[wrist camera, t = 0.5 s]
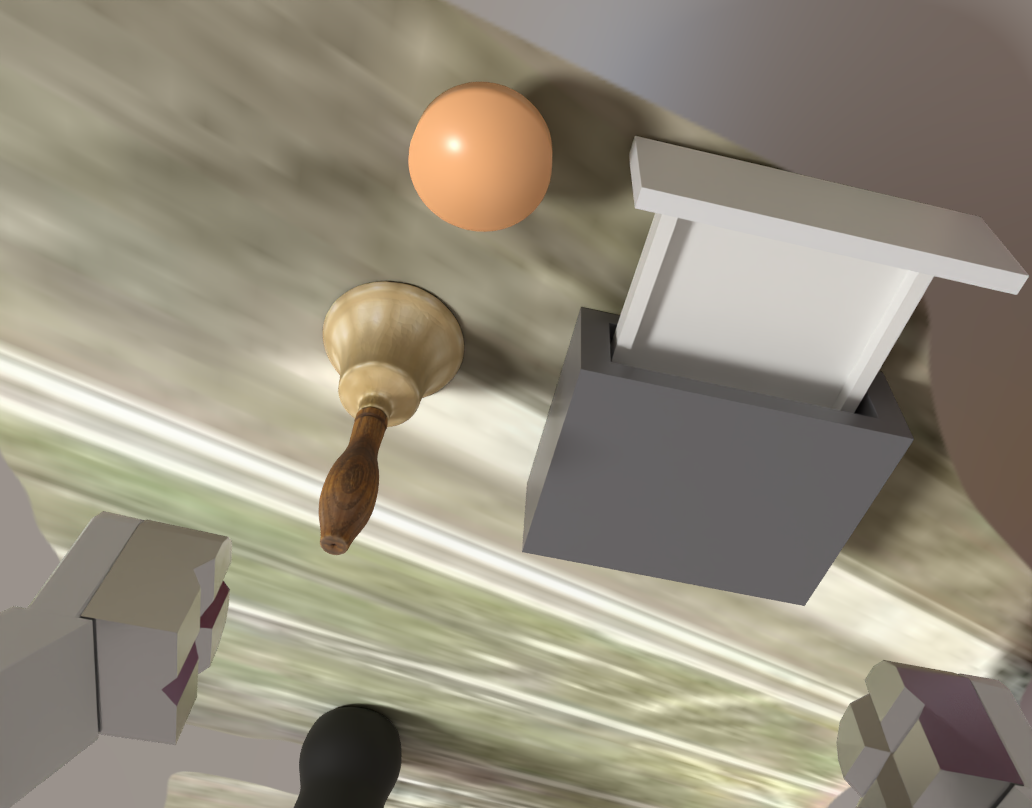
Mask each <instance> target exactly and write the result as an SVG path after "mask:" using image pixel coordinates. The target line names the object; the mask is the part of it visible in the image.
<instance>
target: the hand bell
mask: <svg viewBox="0 0 1032 808" xmlns="http://www.w3.org/2000/svg"><path fill="white" fill-rule="evenodd" d="M323 342H324V347H325V351H326V353H327V356H328V358H329V360H330V362H331V363H332V365H333V367H334V368H335V370H336V371H337V372H338V373H339V375H340V381H339V388H338V392H339V397H340V400H341V403H342V405H343V406H344V408H345V409H346V410H347V412H348V413H349V414H350V415H351V416H352V417H354V418H355V423H354V426H353V430H352V434H351V438H350V442H349V445H348V447H347V448H346V450H345V451H344V453H343V454H342V455H341V456H340V457H339V458H338V459H337V461H336V462H335V463H334V465H333V466H332V468H331V469H330V471H329V473H328V475H327V478H326V480H325V483H324V485H323V488H322V492H321V495H320V500H319V521H320V529H321V539H320V545H321V547H322V548H323V550H324V551H325V552H327V553H329V554H333V555H340V554H343V553H345V552H346V551H347V550H348V548H349V546H350V545H351V543H352V542H353V540H354V539H355V538H356V536H357V535H358V534H359V533H360V532H361V530H362V529H363V528H364V527H365V525H366V524H367V522H368V520H369V518H370V516H371V514H372V512H373V509H374V506H375V502H376V498H377V494H378V486H379V469H378V462H377V456H378V450H379V447H380V444H381V441H382V439H383V436H384V433H385V430H386V428H387V427H392V426H396V425H399V424H402V423H404V422H405V421H407V420H409V419H410V418H411V417H412V416H413V415H414V413H415V412H416V410H417V409H418V407H419V404H420V401H421V399H422V398H424V397H426V396H429V395H431V394H433V393H435V392H437V391H439V390H440V389H441V388H443V387H444V386H445V385H447V384H448V383H449V382H450V381H451V380H452V379H453V377H454V376H455V375H456V373H457V372H458V370H459V368H460V366H461V363H462V360H463V355H464V341H463V335H462V331H461V329H460V326H459V324H458V322H457V320H456V318H455V317H454V315H453V314H452V313H451V311H450V310H449V309H448V308H447V307H446V306H445V305H444V304H443V303H442V302H441V301H440V300H438V299H437V298H436V297H434V296H433V295H431V294H430V293H428V292H426V291H424V290H422V289H420V288H418V287H415V286H411V285H408V284H404V283H397V282H388V281H383V282H372V283H368V284H363V285H360V286H357V287H355V288H353V289H351V290H349V291H348V292H346V293H345V294H343V295H342V296H341V297H339V298H338V299H337V300H336V301H335V302H334V303H333V305H332V306H331V308H330V309H329V311H328V313H327V315H326V318H325V321H324V325H323Z"/></svg>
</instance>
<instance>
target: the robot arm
mask: <svg viewBox="0 0 1032 808" xmlns="http://www.w3.org/2000/svg"><path fill="white" fill-rule="evenodd" d="M231 560H232V541H231V539H230V538H229V537H226V536H222V535H217V534H212V533H208V532H203V531H198V530H193V529H189V528H184V527H179V526H175V525H170V524H165V523H161V522H156V521H151V520H141V519H137V518H132V517H128V516H123V515H119V514H114V513H110V512H105V511H103V512H101V513H100V514H98V515H97V516H95V517H94V518H92V519H91V520H90V522H89V523H88V525H87V526H86V527H85V529H84V530H83V532H82V533H81V534H80V536H79V537H78V538H77V540H76V541H75V543H74V544H73V545H72V547H71V548H70V550H69V551H68V552H67V554H66V555H65V556H64V558H63V559H62V561H61V562H60V563H59V565H58V566H57V568H56V569H55V570H54V572H53V573H52V574H51V576H50V577H49V579H48V580H47V581H46V583H45V584H44V586H43V587H42V588H41V590H40V591H39V592H38V594H37V595H36V597H35V598H34V599H33V601H32V602H31V604H30V605H29V606H28V608H22V607H16V606H13V607H11V608H9V609H7V610H5V611H3V612H0V808H10V807H11V806H12V805H14V804H15V803H16V802H18V801H19V800H20V799H21V798H23V797H24V796H25V795H27V794H28V793H29V792H30V791H32V790H33V789H34V788H36V787H37V786H38V785H39V784H41V783H42V782H43V781H45V780H46V779H47V778H49V777H50V776H51V775H52V774H54V773H55V772H56V771H58V770H59V769H60V768H61V767H63V766H64V765H65V764H67V763H68V762H69V761H70V760H72V759H73V758H74V757H75V756H77V755H78V754H79V753H81V752H82V751H83V750H85V749H86V748H87V747H88V746H90V745H91V744H92V743H94V742H95V741H96V740H97V739H98V734H101V735H109V736H116V737H123V738H130V739H137V740H144V741H151V742H158V743H165V744H173V745H176V743H177V741H178V739H179V736H180V734H181V732H182V729H183V727H184V725H185V723H186V721H187V718H188V716H189V714H190V711H191V709H192V707H193V705H194V702H195V700H196V698H197V684H198V674H199V673H201V672H202V671H204V670H205V669H207V668H209V667H210V666H211V663H212V661H213V658H214V656H215V654H216V651H217V649H218V646H219V643H220V640H221V636H222V633H223V630H224V626H225V623H226V617H227V611H228V606H229V594H230V589H229V588H228V586H227V585H226V584H225V582H224V581H223V579H224V577H225V575H226V573H227V571H228V568H229V566H230V564H231ZM865 683H866V686H867V689H868V692H869V694H867V695H865V696H863V697H861V698H860V699H858V700H856V701H854V702H852V703H850V704H849V706H848V708H847V710H846V712H845V713H844V715H843V717H842V719H841V721H840V725H839V731H838V737H837V751H838V761H839V764H840V767H841V771H842V774H843V777H844V779H845V780H846V781H847V782H848V784H849V785H850V786H851V787H852V788H853V789H854V790H855V791H856V792H857V793H858V794H859V795H860V797H861V798H860V800H859V802H858V804H857V806H856V808H1032V729H1031V727H1030V725H1029V723H1028V721H1027V720H1026V718H1025V716H1024V714H1023V713H1022V711H1021V709H1020V707H1019V705H1018V704H1017V702H1016V700H1015V698H1014V696H1013V695H1012V693H1011V691H1010V690H1009V689H1008V688H1007V687H1006V686H1005V685H1004V684H1003V683H1002V682H1000V681H999V680H995V679H989V678H983V677H977V676H972V675H966V674H956V673H953V672H947V671H941V670H936V669H930V668H925V667H919V666H914V665H908V664H902V663H897V662H891V661H886V660H883V661H881V662H880V663H878V664H877V665H875V666H873V668H872V670H871V671H870V673H869V674H868V676H867V677H866V679H865Z"/></svg>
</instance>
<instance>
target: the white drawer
mask: <svg viewBox="0 0 1032 808" xmlns="http://www.w3.org/2000/svg"><path fill="white" fill-rule="evenodd" d="M629 160H630V169H631V178H632V187H633V195H634V204H635V208H637V209H641V210H645V211H650V212H654V213H655V216H654V219H653V222H652V224H651V227H650V230H649V233H648V236H647V239H646V242H645V245H644V248H643V251H642V254H641V257H640V260H639V263H638V266H637V268H636V271H635V274H634V277H633V280H632V283H631V286H630V289H629V292H628V295H627V298H626V301H625V304H624V307H623V310H622V313H621V315H620V318H619V321H618V324H617V327H616V330H615V333H614V336H613V339H612V342H611V345H610V355H611V362H613V363H618V364H622V365H627V366H632V367H637V368H641V369H646V370H651V371H656V372H660V373H665V374H670V375H674V376H679V377H684V378H689V379H693V380H698V381H703V382H708V383H712V384H717V385H722V386H727V387H731V388H736V389H741V390H745V391H750V392H755V393H760V394H764V395H769V396H774V397H779V398H783V399H788V400H793V401H797V402H802V403H807V404H812V405H816V406H821V407H826V408H831V409H835V410H840V411H845V412H849V413H854V412H855V410H856V409H857V407H858V405H859V404H860V402H861V400H862V398H863V397H864V395H865V393H866V392H867V390H868V388H869V386H870V385H871V383H872V381H873V380H874V378H875V376H876V375H877V373H878V371H879V369H880V368H881V366H882V364H883V363H884V361H885V359H886V357H887V356H888V354H889V352H890V351H891V349H892V347H893V345H894V344H895V342H896V340H897V339H898V337H899V335H900V334H901V332H902V330H903V328H904V327H905V325H906V323H907V322H908V320H909V318H910V316H911V315H912V313H913V311H914V310H915V308H916V306H917V305H918V303H919V301H920V299H921V298H922V296H923V294H924V293H925V291H926V289H927V287H928V286H929V284H930V282H931V281H932V279H933V277H934V276H936V277H940V278H945V279H949V280H954V281H958V282H963V283H967V284H971V285H976V286H980V287H984V288H989V289H993V290H998V291H1002V292H1006V293H1011V294H1016V295H1017V294H1018V292H1019V290H1020V289H1021V288H1022V286H1023V285H1024V283H1025V281H1026V280H1027V279H1028V277H1029V275H1028V274H1027V273H1026V272H1025V270H1024V269H1023V268H1022V267H1021V265H1020V264H1019V263H1018V262H1017V261H1016V259H1015V258H1014V257H1013V256H1012V254H1011V253H1010V252H1009V251H1008V249H1007V248H1006V247H1005V246H1004V245H1003V243H1002V242H1001V241H1000V240H999V238H998V237H997V236H996V235H995V234H994V232H993V231H992V230H991V229H990V227H989V226H988V225H987V224H986V222H985V221H984V220H983V219H982V218H981V217H980V216H976V215H971V214H967V213H963V212H958V211H954V210H950V209H945V208H941V207H937V206H933V205H928V204H924V203H919V202H916V201H911V200H907V199H903V198H899V197H894V196H890V195H886V194H881V193H877V192H873V191H869V190H865V189H860V188H856V187H852V186H847V185H843V184H839V183H835V182H830V181H826V180H822V179H817V178H813V177H809V176H805V175H800V174H796V173H792V172H788V171H783V170H779V169H775V168H771V167H766V166H762V165H758V164H754V163H749V162H745V161H741V160H736V159H732V158H728V157H724V156H719V155H715V154H711V153H707V152H702V151H698V150H694V149H689V148H685V147H681V146H677V145H672V144H668V143H664V142H660V141H655V140H651V139H647V138H642V137H638V136H635V137H634V140H633V144H632V147H631V150H630V153H629Z"/></svg>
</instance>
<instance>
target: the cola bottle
mask: <svg viewBox="0 0 1032 808" xmlns="http://www.w3.org/2000/svg"><path fill="white" fill-rule="evenodd" d="M401 757H402V754H401V742H400V737H399V734H398V731H397V729H396V728H395V726H394V725H393V724H392V723H391V722H390V721H389V720H388V719H387V718H386V717H384V716H383V715H381V714H379V713H377V712H374V711H372V710H369V709H365V708H359V707H343V708H337V709H334V710H331V711H329V712H327V713H325V714H323V715H322V716H321V717H320V718H319V719H318V720H317V721H316V722H315V723H314V725H313V726H312V728H311V729H310V731H309V733H308V735H307V737H306V739H305V741H304V743H303V746H302V749H301V753H300V761H299V771H300V783H301V789H300V794H299V797H298V799H297V801H296V804H295V806H294V808H384V805H385V802H386V800H387V798H388V796H389V794H390V793H391V791H392V789H393V787H394V785H395V783H396V781H397V779H398V776H399V772H400V768H401Z"/></svg>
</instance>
